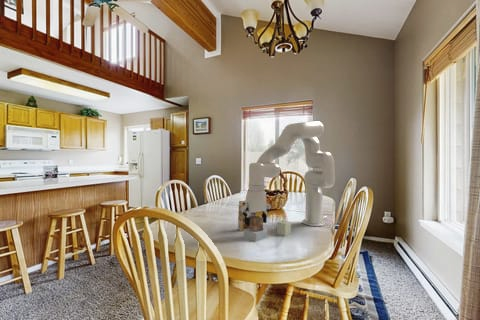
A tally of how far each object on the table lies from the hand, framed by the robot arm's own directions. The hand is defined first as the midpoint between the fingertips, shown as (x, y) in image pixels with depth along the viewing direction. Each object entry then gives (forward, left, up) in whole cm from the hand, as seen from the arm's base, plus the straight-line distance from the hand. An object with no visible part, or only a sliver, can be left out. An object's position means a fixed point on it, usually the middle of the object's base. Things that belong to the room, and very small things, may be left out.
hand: (255, 223), depth 112 cm
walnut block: (0, 0, -3) cm, 3 cm away
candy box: (-3, -13, -7) cm, 15 cm away
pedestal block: (0, 0, -7) cm, 7 cm away
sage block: (-16, +2, -7) cm, 17 cm away
